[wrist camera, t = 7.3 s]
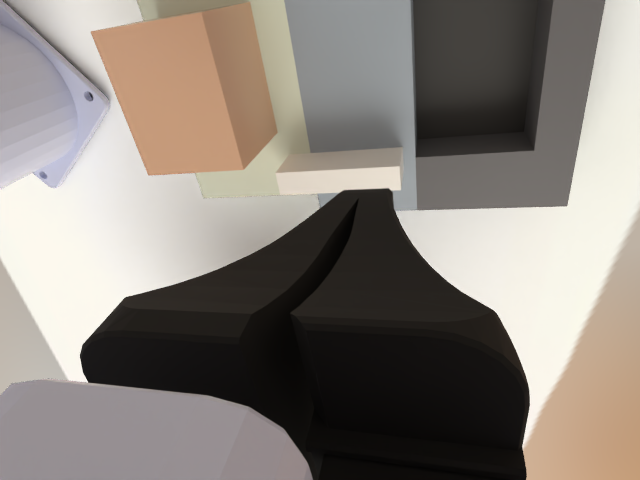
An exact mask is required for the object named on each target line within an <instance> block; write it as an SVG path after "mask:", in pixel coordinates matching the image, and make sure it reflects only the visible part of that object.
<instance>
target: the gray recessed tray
mask: <svg viewBox="0 0 640 480" xmlns="http://www.w3.org/2000/svg"><path fill="white" fill-rule="evenodd" d="M284 2H285V8H286V14H287V20H288V26H289V32H290V37H291V43H292V49H293V55H294V60H295V66H296V72H297V77H298V83H299V89H300V95H301V101H302V106H303V112H304V118H305V124H306V130H307V135H308V141H309V147H310V153H320V152H335V151H350V150H365V149H380V148H395V147H403V162H404V172H403V179H402V186H401V190H395V191H392V192H393V201H394V210H395V211H401V210H440V209H478V208H517V207H556V206H567V204H568V199H569V194H570V188H571V183H572V177H573V172H574V167H575V161H576V156H577V150H578V145H579V139H580V134H581V129H582V123H583V118H584V112H585V107H586V102H587V96H588V91H589V85H590V80H591V75H592V69H593V64H594V58H595V53H596V48H597V42H598V37H599V31H600V26H601V21H602V15H603V10H604V4H605V0H284ZM337 194H339V193H318V199H319V205H320V208H321V207H323V206H324V205H325V204H326V203H327V202H329V201H330V200H331V199H332V198H334V197H335V196H336V195H337Z"/></svg>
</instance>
